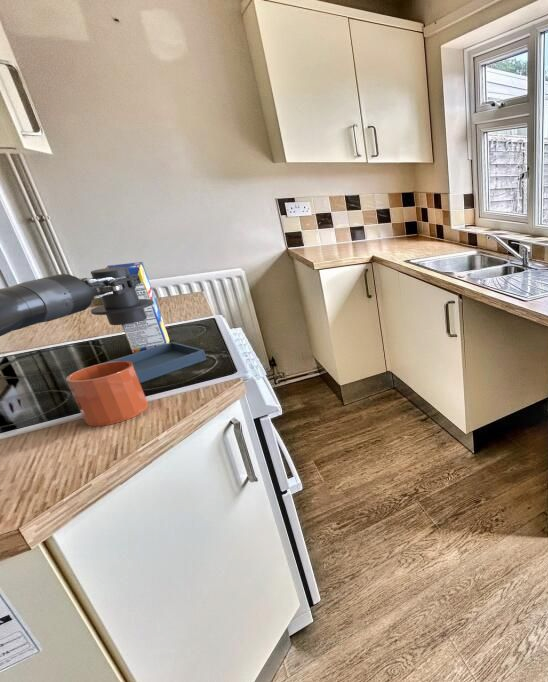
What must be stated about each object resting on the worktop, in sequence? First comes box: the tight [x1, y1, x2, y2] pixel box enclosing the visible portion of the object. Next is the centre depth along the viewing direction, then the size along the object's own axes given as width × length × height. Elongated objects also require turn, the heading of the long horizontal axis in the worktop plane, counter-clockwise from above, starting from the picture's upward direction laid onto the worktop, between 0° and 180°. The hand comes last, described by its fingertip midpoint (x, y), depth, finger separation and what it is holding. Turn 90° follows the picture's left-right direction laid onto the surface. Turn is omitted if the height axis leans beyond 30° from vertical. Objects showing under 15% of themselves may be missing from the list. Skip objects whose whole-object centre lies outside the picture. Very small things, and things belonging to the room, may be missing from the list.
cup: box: [65, 361, 149, 427], centre depth 79 cm, size 9×9×9 cm
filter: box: [90, 267, 154, 326], centre depth 93 cm, size 11×11×12 cm
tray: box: [76, 341, 208, 384], centre depth 99 cm, size 19×14×3 cm
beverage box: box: [105, 261, 171, 354], centre depth 108 cm, size 7×11×22 cm, turn 36°
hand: (122, 279), depth 94 cm, fingers closed on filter, 6 cm apart
